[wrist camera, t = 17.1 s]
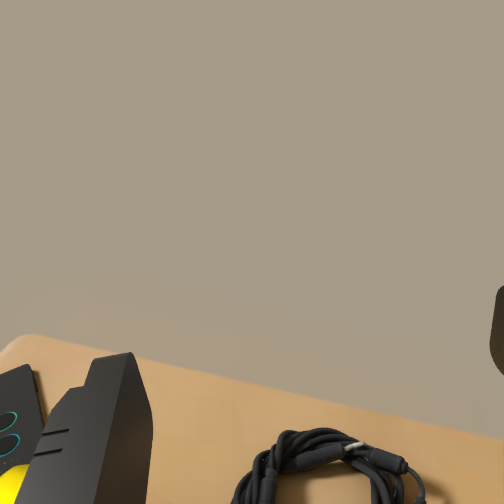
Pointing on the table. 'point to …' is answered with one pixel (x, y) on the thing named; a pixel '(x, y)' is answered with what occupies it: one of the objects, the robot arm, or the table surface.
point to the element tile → (12, 483)
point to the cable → (320, 453)
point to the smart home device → (19, 418)
